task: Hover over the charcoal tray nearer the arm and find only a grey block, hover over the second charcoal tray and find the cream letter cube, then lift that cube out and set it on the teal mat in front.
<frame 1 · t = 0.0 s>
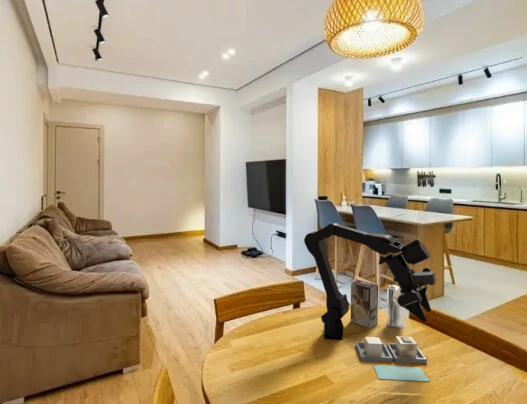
hand: (427, 316, 107), 15 cm above the table, tool tilted 35°, fingers open, 9 cm apart
tray near: (373, 354, 112), on the table
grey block: (373, 353, 112), resting on tray near
teal mat: (400, 374, 101), on the table
coffee box: (363, 323, 137), on the table
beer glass: (395, 325, 135), on the table
tray far: (405, 356, 111), on the table
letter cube: (405, 355, 111), resting on tray far
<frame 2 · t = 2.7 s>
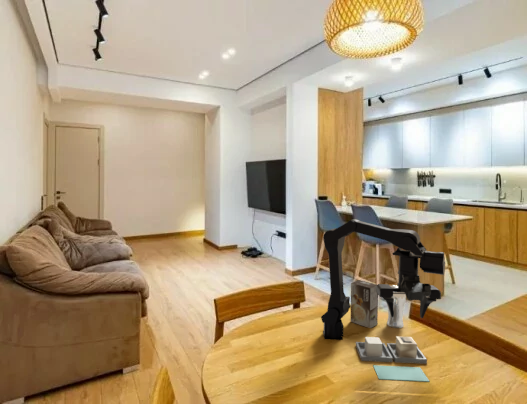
hand: (406, 317, 110), 13 cm above the table, tool pointing down, fingers open, 9 cm apart
nothing on the table moved.
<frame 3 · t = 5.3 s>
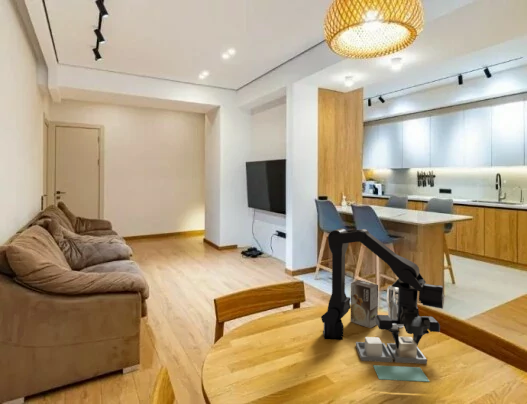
hand: (405, 348, 111), 3 cm above the table, tool pointing down, fingers closed on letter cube, 5 cm apart
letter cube: (405, 354, 111), resting on tray far, touching gripper
everything else where it was.
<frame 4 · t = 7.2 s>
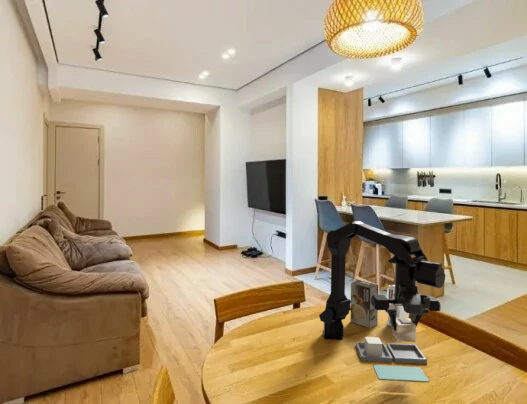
hand: (403, 330, 102), 12 cm above the table, tool pointing down, fingers closed on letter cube, 5 cm apart
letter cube: (403, 337, 102), point 10 cm above the table, touching gripper
everything else where it was.
when the fingers open (4 cm above the table, at t = 9.3 s): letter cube drops 1 cm, resting on teal mat.
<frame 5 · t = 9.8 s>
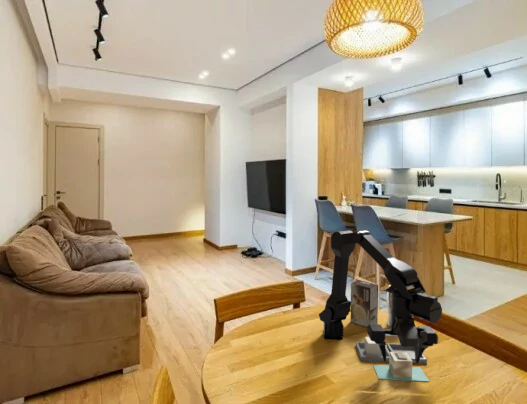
hand: (400, 361, 100), 4 cm above the table, tool pointing down, fingers open, 9 cm apart
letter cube: (400, 372, 101), point 1 cm above the table, touching teal mat
everything else where it was.
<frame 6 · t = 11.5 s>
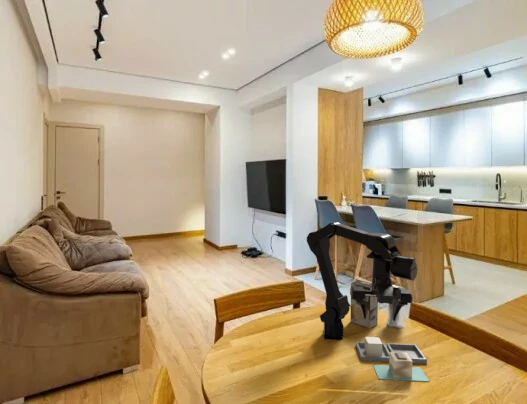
hand: (379, 319, 112), 12 cm above the table, tool pointing down, fingers open, 9 cm apart
nothing on the table moved.
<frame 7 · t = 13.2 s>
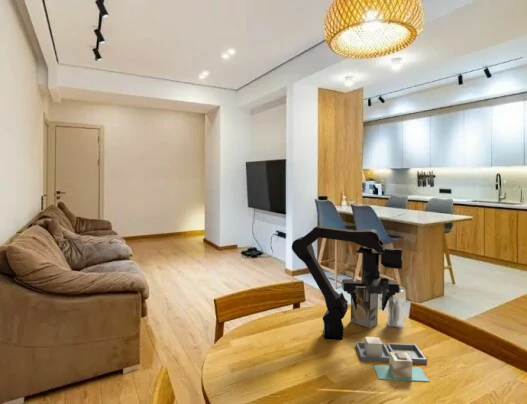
hand: (369, 309, 119), 12 cm above the table, tool pointing down, fingers open, 9 cm apart
nothing on the table moved.
at the end: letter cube inside the target area on the teal mat (0.0 cm from its centre), point 0.6 cm above the teal mat's base; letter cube tilted 0°; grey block moved 0.0 cm from its start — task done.
